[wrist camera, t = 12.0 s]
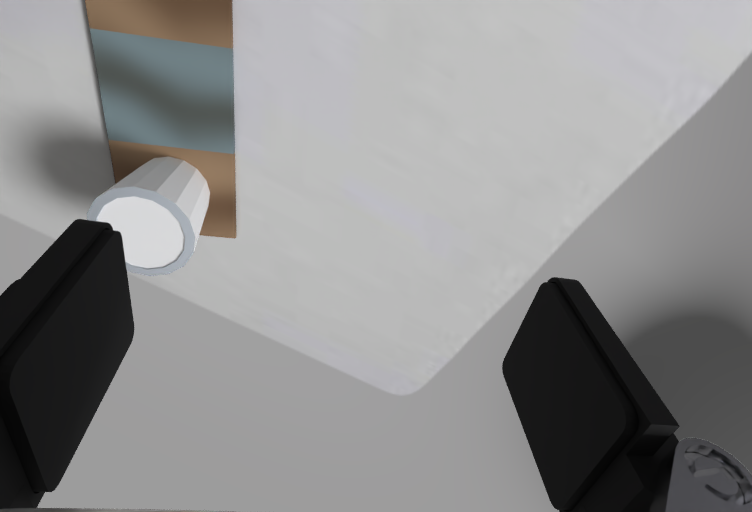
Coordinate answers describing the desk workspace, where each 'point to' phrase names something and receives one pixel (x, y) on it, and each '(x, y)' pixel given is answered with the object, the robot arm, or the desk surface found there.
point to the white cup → (156, 214)
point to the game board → (170, 91)
